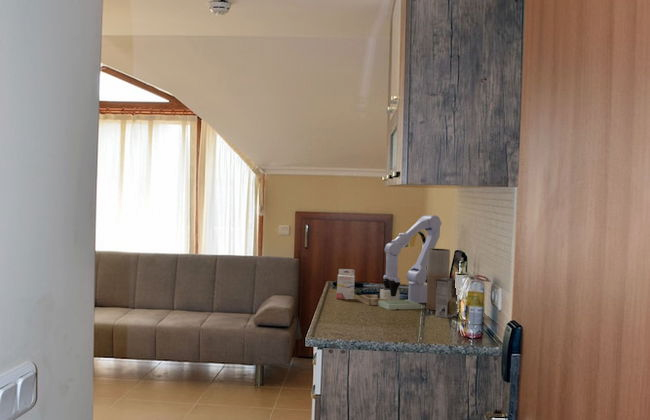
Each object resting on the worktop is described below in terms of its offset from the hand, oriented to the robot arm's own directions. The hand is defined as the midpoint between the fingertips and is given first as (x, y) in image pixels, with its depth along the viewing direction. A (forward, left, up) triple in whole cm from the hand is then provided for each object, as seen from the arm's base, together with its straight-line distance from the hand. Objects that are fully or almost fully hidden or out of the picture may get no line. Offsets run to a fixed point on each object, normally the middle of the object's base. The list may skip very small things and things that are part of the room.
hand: (390, 295), depth 308 cm
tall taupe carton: (-14, +21, -4) cm, 25 cm away
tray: (+2, +14, -4) cm, 15 cm away
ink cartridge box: (+18, -15, -4) cm, 24 cm away
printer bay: (+9, 0, -3) cm, 10 cm away
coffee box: (-9, +39, -4) cm, 40 cm away
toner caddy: (+1, 0, -2) cm, 2 cm away
